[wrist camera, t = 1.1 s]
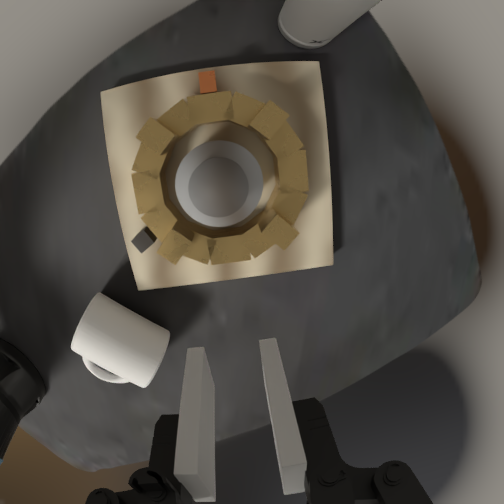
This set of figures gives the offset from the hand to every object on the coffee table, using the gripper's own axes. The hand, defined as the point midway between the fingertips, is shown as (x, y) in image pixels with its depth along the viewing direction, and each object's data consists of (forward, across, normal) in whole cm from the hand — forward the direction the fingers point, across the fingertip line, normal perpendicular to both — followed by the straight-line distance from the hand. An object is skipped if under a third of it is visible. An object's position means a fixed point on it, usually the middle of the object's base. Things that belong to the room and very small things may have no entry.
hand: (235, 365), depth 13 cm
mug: (+21, -16, -12) cm, 29 cm away
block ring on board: (+21, 0, +6) cm, 22 cm away
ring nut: (+18, 0, +8) cm, 20 cm away
